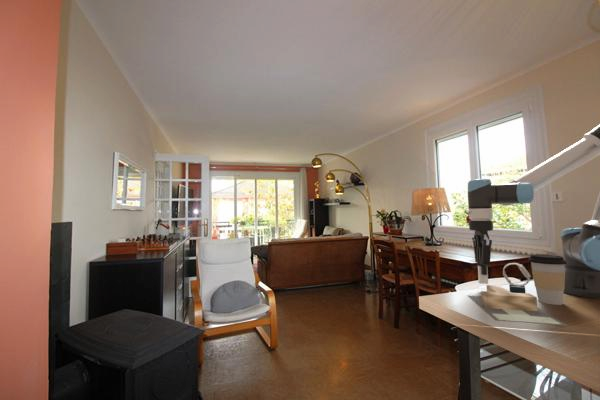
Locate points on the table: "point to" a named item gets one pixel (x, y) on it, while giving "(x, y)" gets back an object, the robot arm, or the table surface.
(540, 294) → the coffee cup
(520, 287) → the watch
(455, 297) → the table surface
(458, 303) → the table surface
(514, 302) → the t block
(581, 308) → the table surface
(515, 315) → the mat
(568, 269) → the robot arm
